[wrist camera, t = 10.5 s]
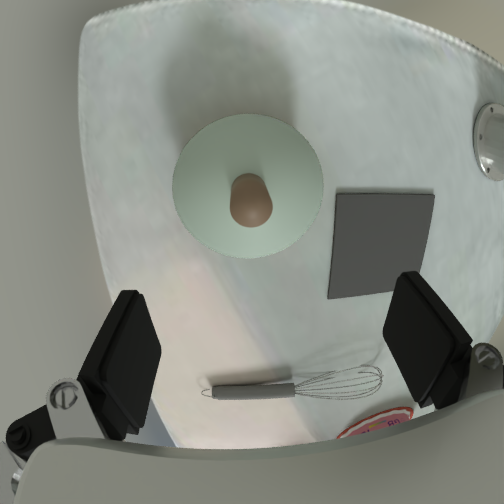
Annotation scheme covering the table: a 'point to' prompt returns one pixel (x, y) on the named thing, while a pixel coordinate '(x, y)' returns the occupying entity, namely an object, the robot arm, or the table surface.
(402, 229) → the mat
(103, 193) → the table surface
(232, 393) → the kitchen whisk
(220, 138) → the lid
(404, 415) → the cake
